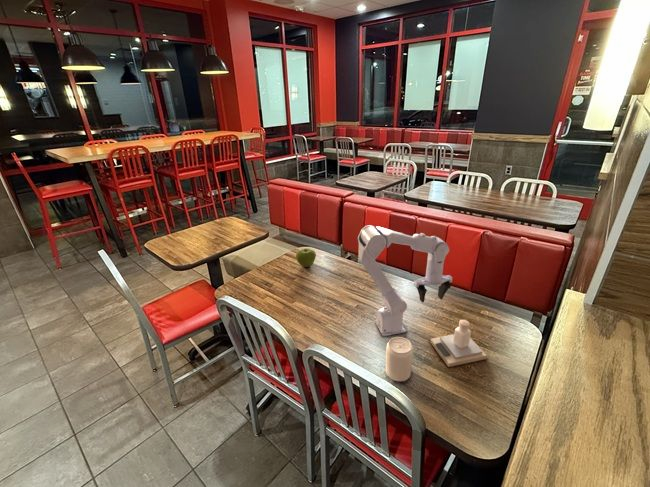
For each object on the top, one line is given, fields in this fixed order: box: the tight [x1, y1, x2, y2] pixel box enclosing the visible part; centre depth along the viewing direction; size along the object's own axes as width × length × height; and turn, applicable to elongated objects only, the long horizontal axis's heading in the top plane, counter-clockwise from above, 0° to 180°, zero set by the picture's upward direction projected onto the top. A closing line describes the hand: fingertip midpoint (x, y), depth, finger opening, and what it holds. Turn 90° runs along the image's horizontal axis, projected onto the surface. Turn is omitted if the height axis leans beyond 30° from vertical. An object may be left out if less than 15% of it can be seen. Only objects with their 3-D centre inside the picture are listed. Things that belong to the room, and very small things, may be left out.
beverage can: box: [385, 336, 414, 382], centre depth 99 cm, size 8×8×12 cm
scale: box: [429, 333, 488, 368], centre depth 109 cm, size 14×12×3 cm
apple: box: [295, 247, 317, 268], centre depth 168 cm, size 11×10×10 cm
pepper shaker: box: [453, 319, 472, 349], centre depth 106 cm, size 4×4×10 cm
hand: (431, 299), depth 120 cm, fingers open, 7 cm apart
